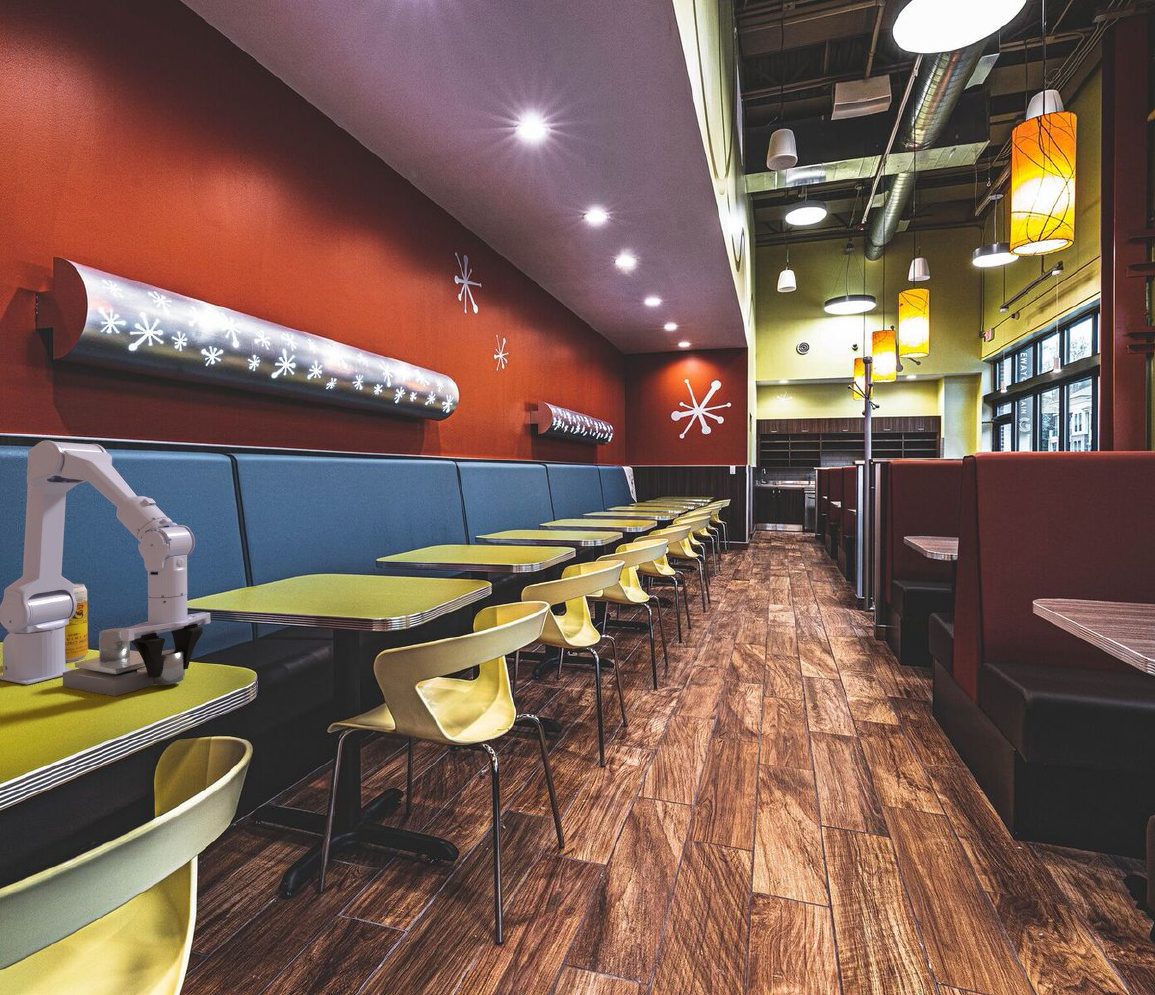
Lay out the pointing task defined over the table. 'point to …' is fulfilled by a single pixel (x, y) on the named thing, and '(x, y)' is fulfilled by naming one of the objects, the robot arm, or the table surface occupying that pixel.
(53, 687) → the table surface
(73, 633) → the beer can
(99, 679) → the scale base
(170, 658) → the cylinder
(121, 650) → the steel weight
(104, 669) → the scale pan
